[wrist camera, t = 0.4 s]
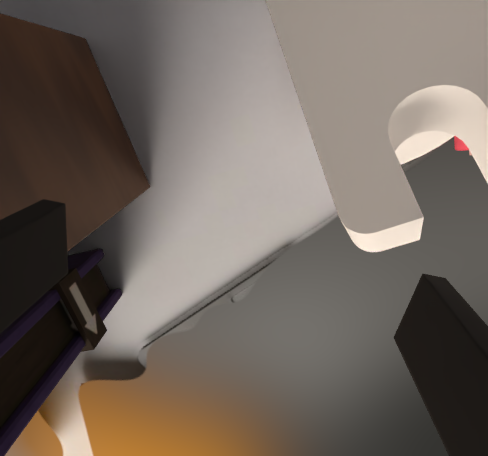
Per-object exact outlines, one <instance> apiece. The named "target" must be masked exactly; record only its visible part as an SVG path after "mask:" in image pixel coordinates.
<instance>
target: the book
mask: <svg viewBox="0 0 488 456" xmlns="http://www.w3.org/2000/svg"><path fill="white" fill-rule="evenodd" d="M103 256H104V252H103V250H102V249H96V250H92V251H87V252H83V253H79V254H74V255H70V256H68V274H66V275H65V276H64V277H63V278H62V279H61V280H60V281H59V282H58V283H56V284H55V285H54V286H53V287H52V288H51V289H50V290H49V291H47V292H46V293H45V294H44V295H43V296H42V297H41V298H40V299H39V300H37V301H36V302H35V303H34V304H33V305H32V306H31V307H30V308H28V309H27V310H26V311H25V312H24V313H23V314H22V315H21V316H20V317H18V318H17V319H16V320H15V321H14V322H13V323H12V324H11V325H10V326H8V327H7V328H6V329H5V330H4V331H3V332H2V333H1V334H0V456H5V454H6V453H7V451H8V450H9V449H10V447H11V446H12V445H13V443H14V442H15V441H16V439H17V438H18V437H19V435H20V434H21V432H22V431H23V430H24V428H25V427H26V426H27V424H28V423H29V422H30V420H31V419H32V417H33V416H34V414H35V413H36V412H37V411H38V409H39V408H40V406H41V405H42V404H43V402H44V401H45V400H46V398H47V397H48V396H49V394H50V393H51V391H52V390H53V389H54V387H55V386H56V385H57V383H58V382H59V381H60V379H61V378H62V376H63V375H64V374H65V372H66V371H67V370H68V368H69V367H70V366H71V364H72V363H73V361H74V360H75V359H76V357H77V356H78V355H79V353H80V352H82V351H88V350H94V349H95V347H96V346H97V344H98V343H99V341H100V340H101V338H102V337H103V336H104V334H105V333H106V331H107V329H106V327H105V325H104V323H103V320H104V319H105V318H106V316H107V315H108V314H109V312H110V311H111V310H112V308H113V307H114V305H115V304H116V303H117V301H118V300H119V299H120V297H121V296H122V292H121V290H120V289H114V290H109V289H108V287H107V285H106V283H105V281H104V279H103V276H102V274H101V272H100V270H99V268H98V266H97V263H98V262H99V261H100V260H101V259H102V258H103Z"/></svg>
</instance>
